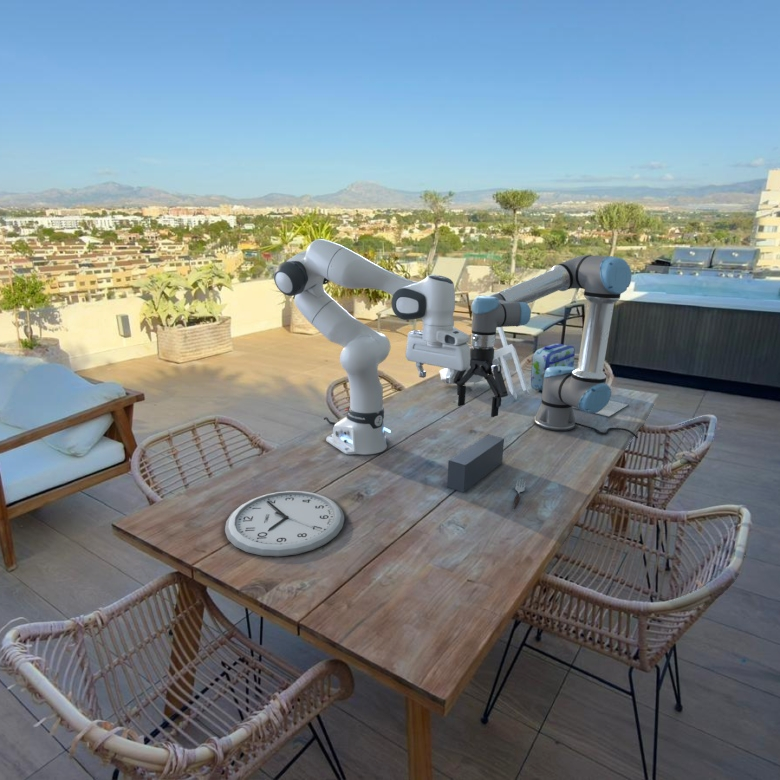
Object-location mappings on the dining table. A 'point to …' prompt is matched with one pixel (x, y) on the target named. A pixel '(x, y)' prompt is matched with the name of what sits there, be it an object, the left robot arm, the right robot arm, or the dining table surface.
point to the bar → (475, 462)
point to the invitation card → (611, 408)
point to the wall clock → (284, 523)
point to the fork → (518, 489)
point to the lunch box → (550, 361)
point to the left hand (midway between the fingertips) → (435, 380)
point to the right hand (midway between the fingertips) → (477, 410)
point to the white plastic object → (499, 357)
